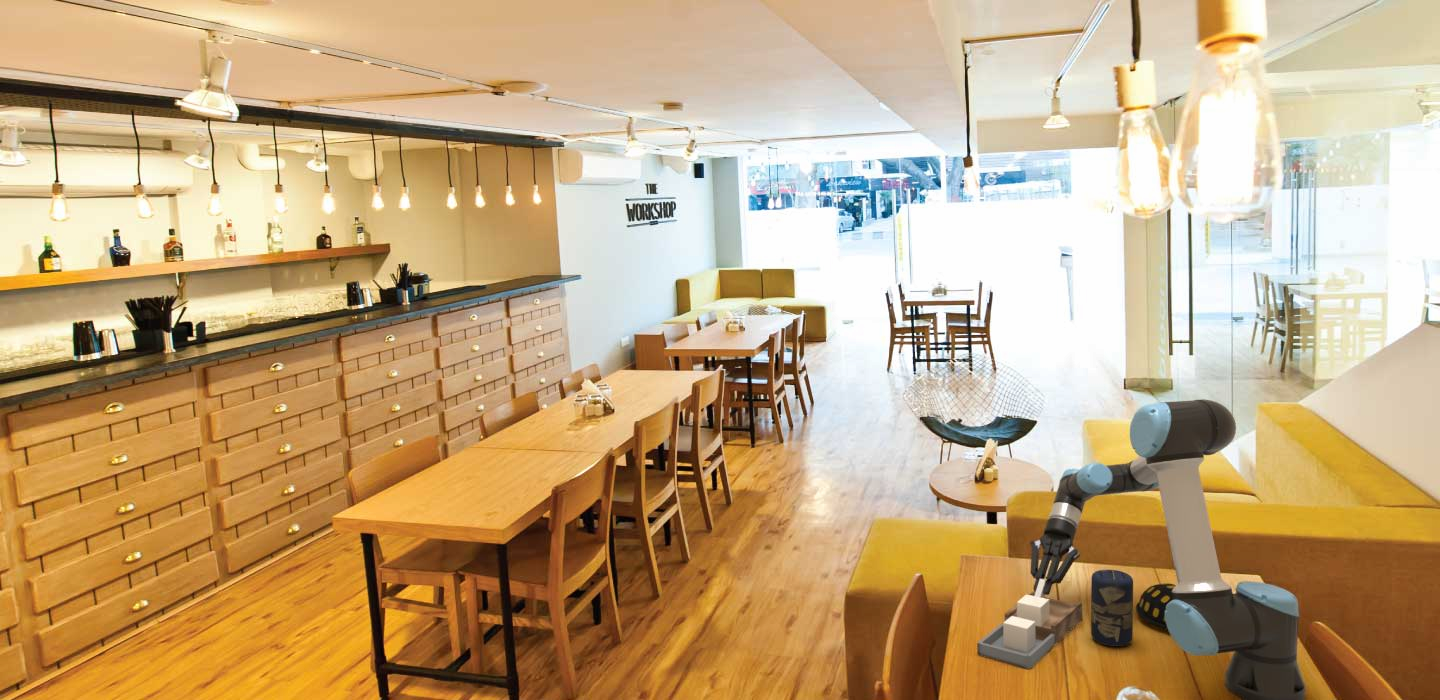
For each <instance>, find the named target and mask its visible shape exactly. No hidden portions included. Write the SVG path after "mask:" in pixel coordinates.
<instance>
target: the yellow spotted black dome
mask: <svg viewBox="0 0 1440 700" xmlns="http://www.w3.org/2000/svg"><path fill="white" fill-rule="evenodd" d="M1176 585H1177V584H1173V583H1168V582H1167V583H1158V584H1154V585H1151V586H1149V587H1148V588H1147V589H1145V590H1144V591H1143V593H1142V594H1141V595H1140V597H1139V600H1138V602H1137V603H1136V606H1135V610H1136V613H1137V615H1138V616H1139V617H1140V618H1141V619H1142V620H1143V621H1145V622H1147V623H1149V624H1152V625H1154V626H1156V627H1159V628H1162V629H1166V630H1168V628H1167V625H1166V621H1165V610H1166V605H1167V604H1168V603H1169V602H1171V601H1172V600H1174V599H1173V594H1172V590H1173V589H1174V587H1175V586H1176Z"/></svg>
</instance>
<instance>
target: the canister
mask: <svg viewBox="0 0 1440 700" xmlns="http://www.w3.org/2000/svg"><path fill="white" fill-rule="evenodd" d="M1090 578H1091V587H1090V589H1091V590H1090V593H1091V594H1090V596H1091V597H1090V598H1091V599H1090V600H1091V601H1090V635H1091V637H1092V639H1093V640H1095V641H1096V642H1098V643H1099V644H1102V645H1106V646H1110V647H1111V646H1112V647H1123V646H1127V645H1129V644H1130V643H1131V642H1132V641H1133V628H1134V627H1133V626H1134V625H1133V623H1134V621H1133V619H1134V616H1133V615H1134V579H1133V578H1132V576H1131V575H1130V574H1128V573H1127V572H1124V571H1121V570H1117V569H1100V570H1097V571H1095V572H1093V573H1092V574H1091V577H1090Z"/></svg>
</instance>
